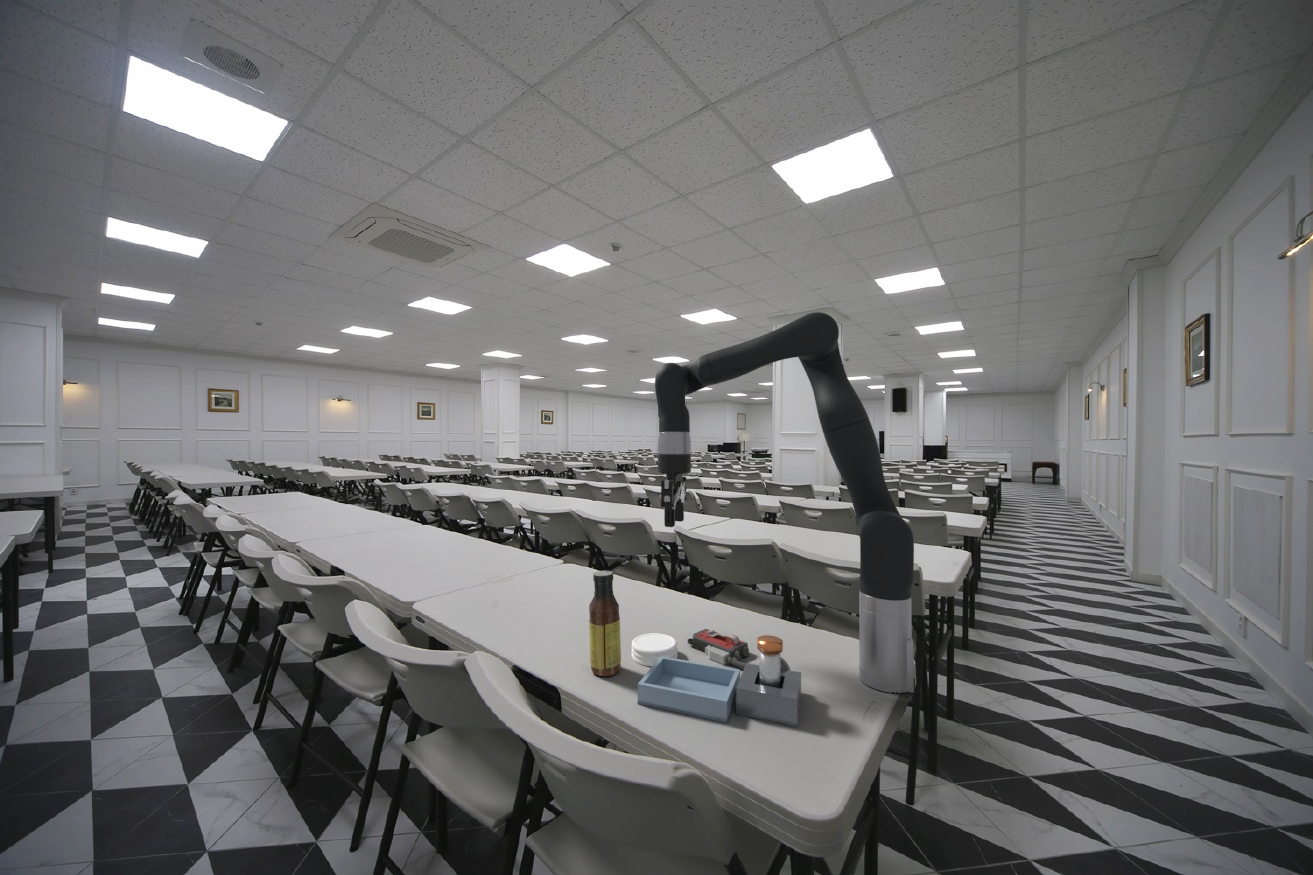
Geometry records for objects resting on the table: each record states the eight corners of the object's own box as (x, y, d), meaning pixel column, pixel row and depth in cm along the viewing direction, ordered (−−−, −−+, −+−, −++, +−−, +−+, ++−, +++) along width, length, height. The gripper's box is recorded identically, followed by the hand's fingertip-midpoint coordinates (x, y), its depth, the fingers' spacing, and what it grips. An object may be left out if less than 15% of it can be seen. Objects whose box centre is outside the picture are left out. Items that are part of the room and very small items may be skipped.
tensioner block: (801, 691, 89) (801, 658, 89) (797, 727, 77) (797, 690, 78) (748, 681, 92) (748, 650, 92) (736, 714, 81) (736, 679, 81)
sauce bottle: (621, 663, 100) (622, 568, 100) (620, 678, 93) (621, 576, 94) (590, 663, 99) (591, 568, 100) (586, 678, 93) (587, 576, 93)
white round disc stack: (685, 654, 105) (685, 638, 105) (661, 672, 96) (662, 655, 96) (647, 644, 110) (647, 628, 110) (622, 660, 102) (622, 643, 102)
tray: (740, 688, 90) (740, 669, 90) (726, 722, 78) (726, 701, 78) (660, 673, 95) (660, 656, 95) (637, 703, 84) (637, 683, 84)
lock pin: (783, 701, 85) (784, 637, 85) (781, 714, 81) (781, 646, 81) (759, 697, 87) (759, 633, 87) (755, 709, 83) (755, 642, 83)
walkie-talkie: (680, 649, 108) (756, 680, 94) (680, 629, 108) (756, 658, 94) (705, 638, 114) (779, 666, 100) (705, 620, 114) (779, 645, 100)
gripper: (683, 452, 100) (683, 529, 99) (696, 452, 114) (697, 520, 113) (649, 452, 102) (649, 528, 102) (666, 452, 116) (666, 518, 115)
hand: (674, 523), depth 107 cm, fingers open, 8 cm apart
